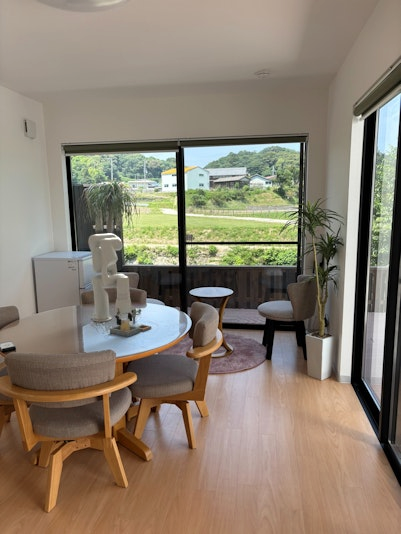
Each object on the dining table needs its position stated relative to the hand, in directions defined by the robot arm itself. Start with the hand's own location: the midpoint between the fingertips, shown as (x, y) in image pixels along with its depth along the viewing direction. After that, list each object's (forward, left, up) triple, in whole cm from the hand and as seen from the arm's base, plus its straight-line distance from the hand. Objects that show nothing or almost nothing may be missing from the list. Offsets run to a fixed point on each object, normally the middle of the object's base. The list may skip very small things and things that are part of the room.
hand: (124, 322), depth 250 cm
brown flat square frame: (+5, +11, -6) cm, 14 cm away
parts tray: (0, 0, -6) cm, 6 cm away
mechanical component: (-9, +18, -6) cm, 21 cm away
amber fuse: (0, 0, -6) cm, 6 cm away
